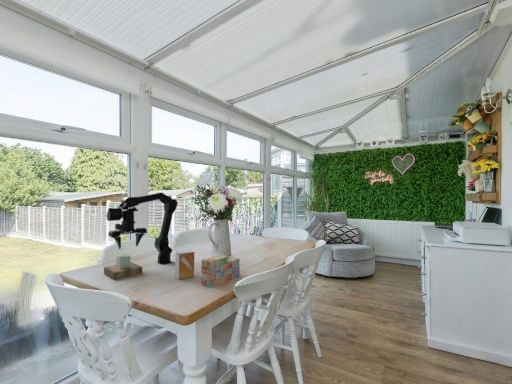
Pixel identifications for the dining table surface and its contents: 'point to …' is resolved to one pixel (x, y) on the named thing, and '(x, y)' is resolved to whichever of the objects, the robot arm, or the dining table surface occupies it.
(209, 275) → the stack of blocks
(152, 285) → the dining table surface
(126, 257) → the green cube
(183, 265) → the small box
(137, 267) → the walnut base
